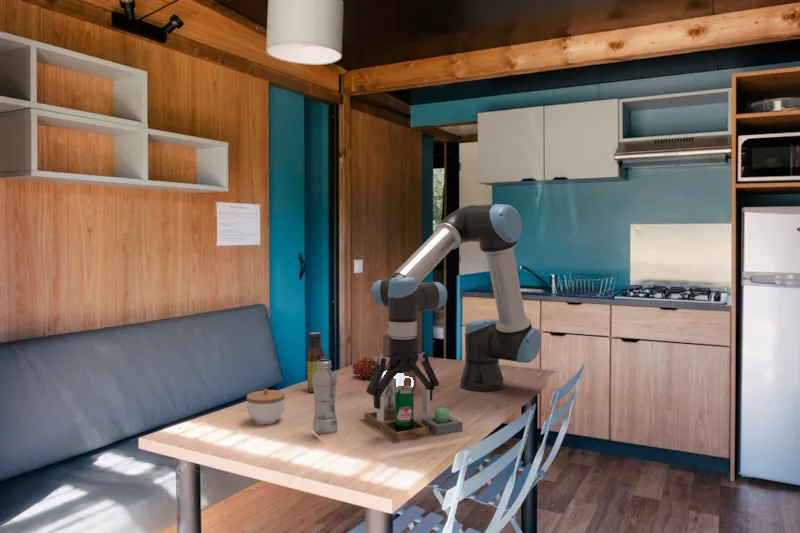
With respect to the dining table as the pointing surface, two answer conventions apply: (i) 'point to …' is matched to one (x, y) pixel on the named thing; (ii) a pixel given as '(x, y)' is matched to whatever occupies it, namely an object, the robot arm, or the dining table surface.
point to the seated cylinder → (389, 400)
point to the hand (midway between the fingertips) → (403, 416)
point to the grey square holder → (443, 426)
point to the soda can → (403, 408)
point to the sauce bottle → (313, 357)
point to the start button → (441, 415)
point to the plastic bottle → (324, 399)
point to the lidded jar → (265, 406)
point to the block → (385, 355)
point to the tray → (389, 433)
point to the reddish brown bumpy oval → (365, 368)
